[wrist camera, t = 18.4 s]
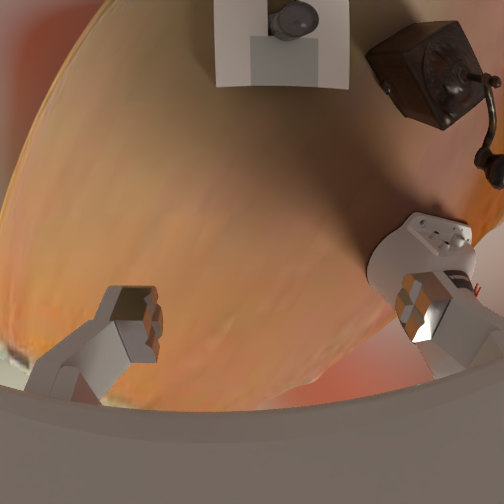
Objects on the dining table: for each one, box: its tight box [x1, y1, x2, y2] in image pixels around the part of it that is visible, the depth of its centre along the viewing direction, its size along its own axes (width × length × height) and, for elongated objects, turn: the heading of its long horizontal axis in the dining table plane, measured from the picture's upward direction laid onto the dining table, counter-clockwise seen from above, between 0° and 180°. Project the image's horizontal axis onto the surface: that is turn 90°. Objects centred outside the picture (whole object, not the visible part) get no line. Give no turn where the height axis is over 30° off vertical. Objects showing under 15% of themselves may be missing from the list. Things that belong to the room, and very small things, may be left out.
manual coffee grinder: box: [365, 21, 504, 190], centre depth 25 cm, size 16×11×18 cm
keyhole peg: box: [268, 1, 319, 41], centre depth 24 cm, size 5×5×12 cm
